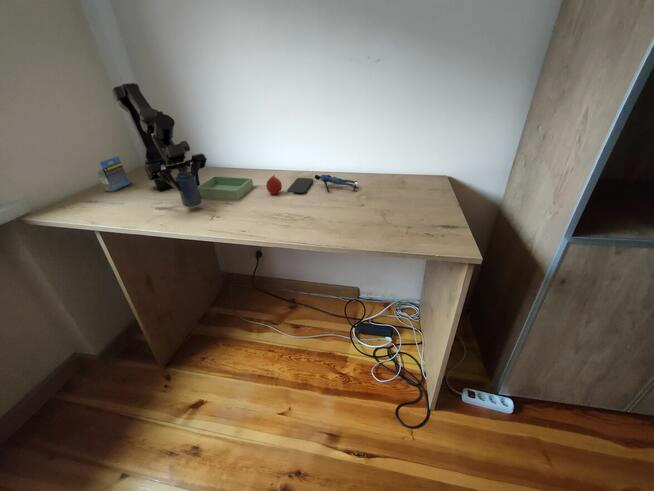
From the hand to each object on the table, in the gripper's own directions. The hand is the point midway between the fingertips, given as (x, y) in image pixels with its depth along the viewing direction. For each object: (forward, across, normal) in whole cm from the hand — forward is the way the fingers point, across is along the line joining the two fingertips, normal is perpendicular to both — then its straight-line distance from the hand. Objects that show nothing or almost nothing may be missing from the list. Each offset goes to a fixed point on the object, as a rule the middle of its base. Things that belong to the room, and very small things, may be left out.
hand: (189, 187), depth 99 cm
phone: (+12, +40, 0) cm, 42 cm away
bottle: (+3, 0, +5) cm, 6 cm away
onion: (+12, +28, +1) cm, 31 cm away
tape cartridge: (-27, -14, +40) cm, 50 cm away
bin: (0, +16, +12) cm, 20 cm away
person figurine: (+20, +50, -8) cm, 54 cm away
